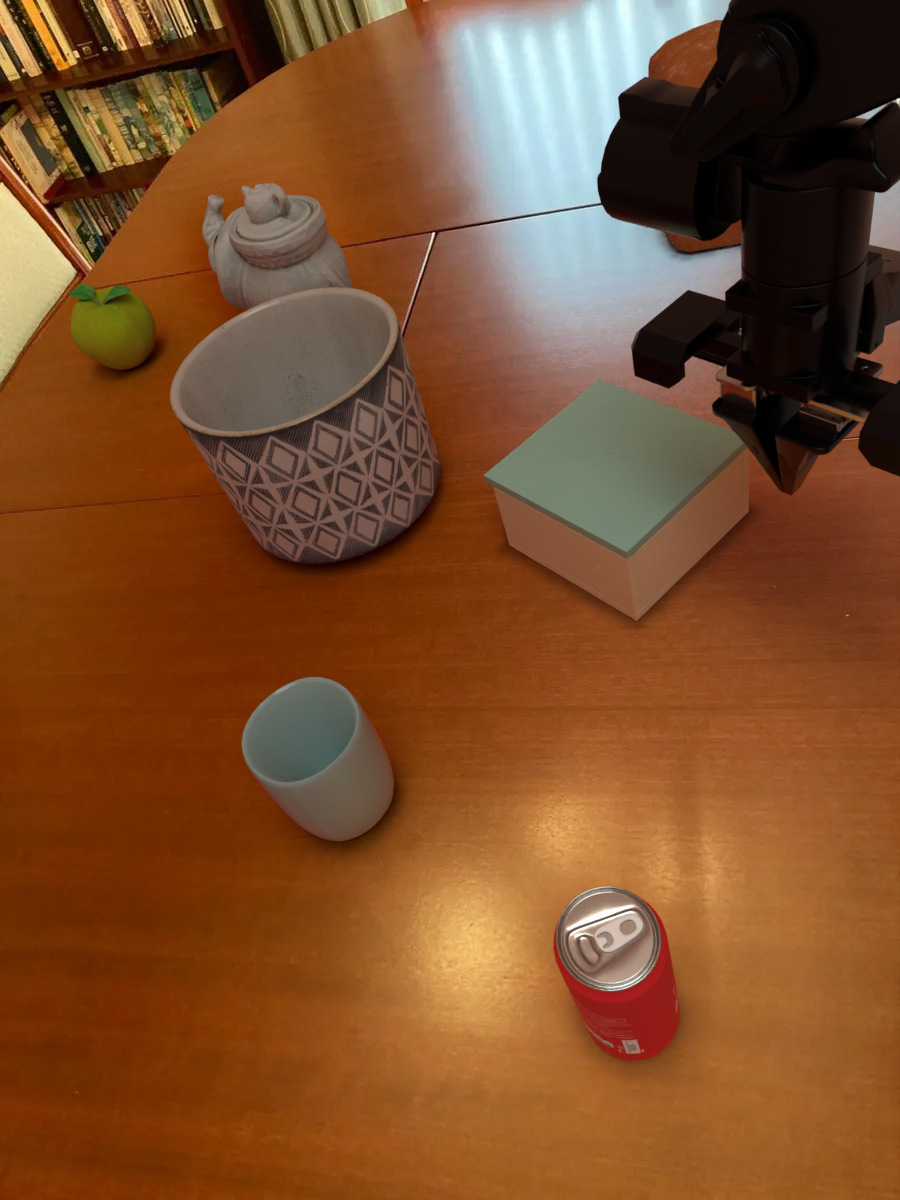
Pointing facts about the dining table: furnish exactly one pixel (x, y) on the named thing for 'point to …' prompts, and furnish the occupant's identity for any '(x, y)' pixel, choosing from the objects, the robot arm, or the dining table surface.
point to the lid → (615, 465)
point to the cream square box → (650, 566)
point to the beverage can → (619, 971)
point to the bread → (690, 66)
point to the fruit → (112, 326)
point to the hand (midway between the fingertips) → (790, 489)
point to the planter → (312, 423)
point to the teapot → (272, 247)
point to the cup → (320, 758)
